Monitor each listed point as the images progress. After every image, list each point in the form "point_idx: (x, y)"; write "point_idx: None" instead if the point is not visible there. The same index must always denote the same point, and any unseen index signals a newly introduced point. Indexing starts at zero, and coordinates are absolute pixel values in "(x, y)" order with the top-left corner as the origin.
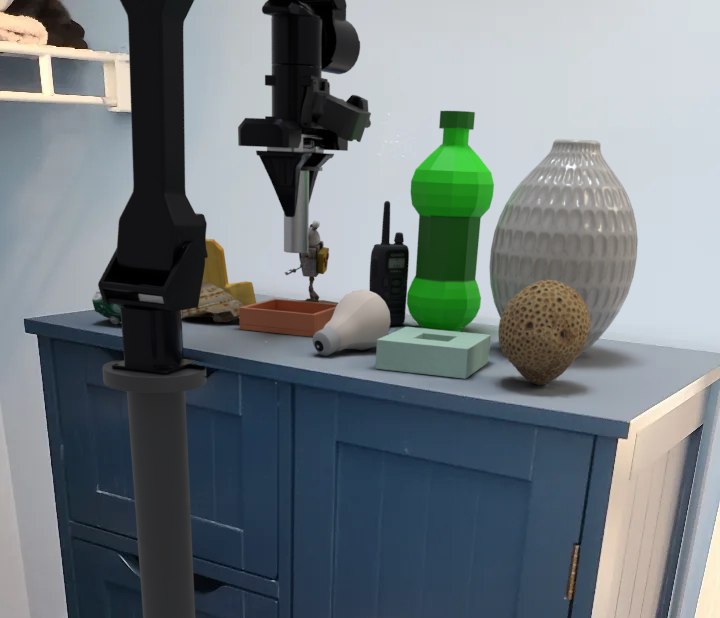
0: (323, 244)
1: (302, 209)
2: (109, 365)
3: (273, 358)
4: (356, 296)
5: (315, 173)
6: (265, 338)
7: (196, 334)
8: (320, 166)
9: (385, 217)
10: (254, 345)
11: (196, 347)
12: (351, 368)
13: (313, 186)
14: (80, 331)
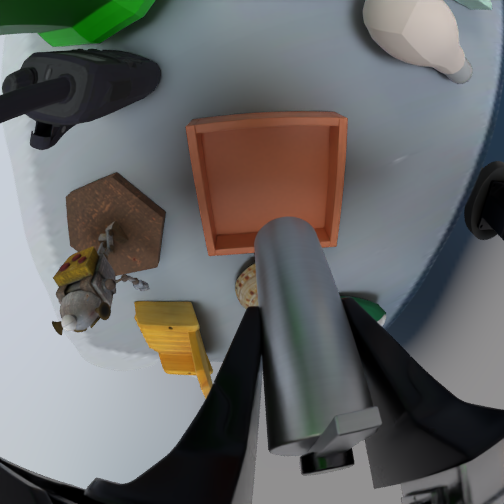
0: (57, 290)
1: (334, 300)
2: (495, 232)
3: (474, 118)
4: (455, 29)
5: (219, 431)
6: (377, 170)
7: (382, 248)
8: (180, 457)
9: (17, 99)
10: (424, 163)
11: (448, 210)
12: (479, 33)
13: (219, 383)
14: (396, 318)
